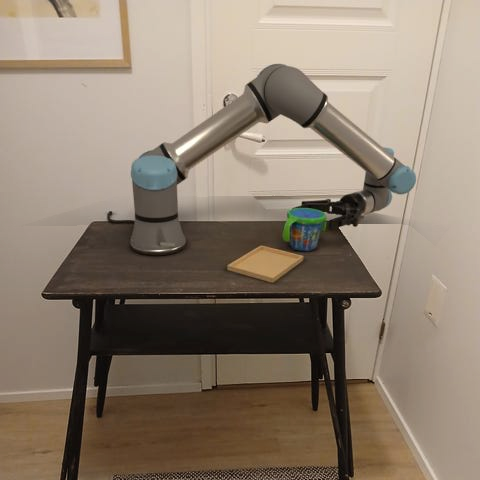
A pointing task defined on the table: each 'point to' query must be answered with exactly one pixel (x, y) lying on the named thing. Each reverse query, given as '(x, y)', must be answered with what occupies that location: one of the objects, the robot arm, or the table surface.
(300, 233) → the snack cup
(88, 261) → the table surface
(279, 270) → the tray
